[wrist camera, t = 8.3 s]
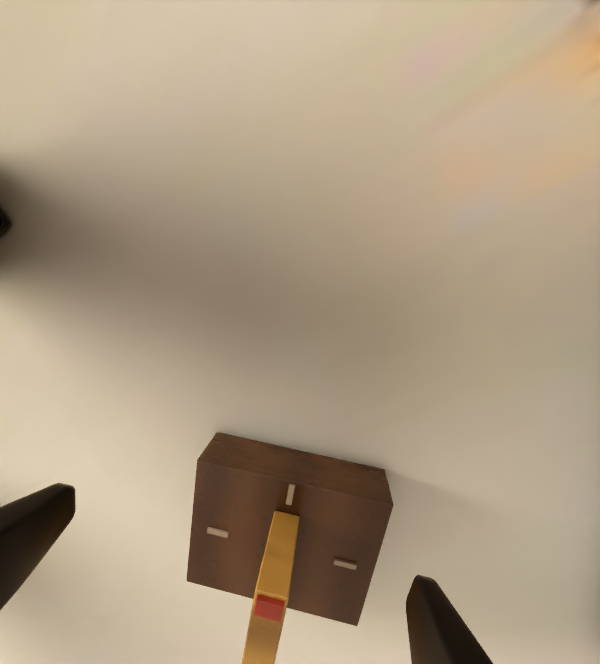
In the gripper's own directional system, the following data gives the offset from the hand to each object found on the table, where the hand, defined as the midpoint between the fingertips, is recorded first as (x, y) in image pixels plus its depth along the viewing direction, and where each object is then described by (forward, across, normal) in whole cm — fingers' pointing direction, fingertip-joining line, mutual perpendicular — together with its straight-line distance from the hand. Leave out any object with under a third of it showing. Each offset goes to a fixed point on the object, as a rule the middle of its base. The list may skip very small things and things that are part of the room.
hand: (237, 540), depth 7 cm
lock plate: (+12, -1, +11) cm, 16 cm away
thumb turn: (+9, -1, +11) cm, 14 cm away
